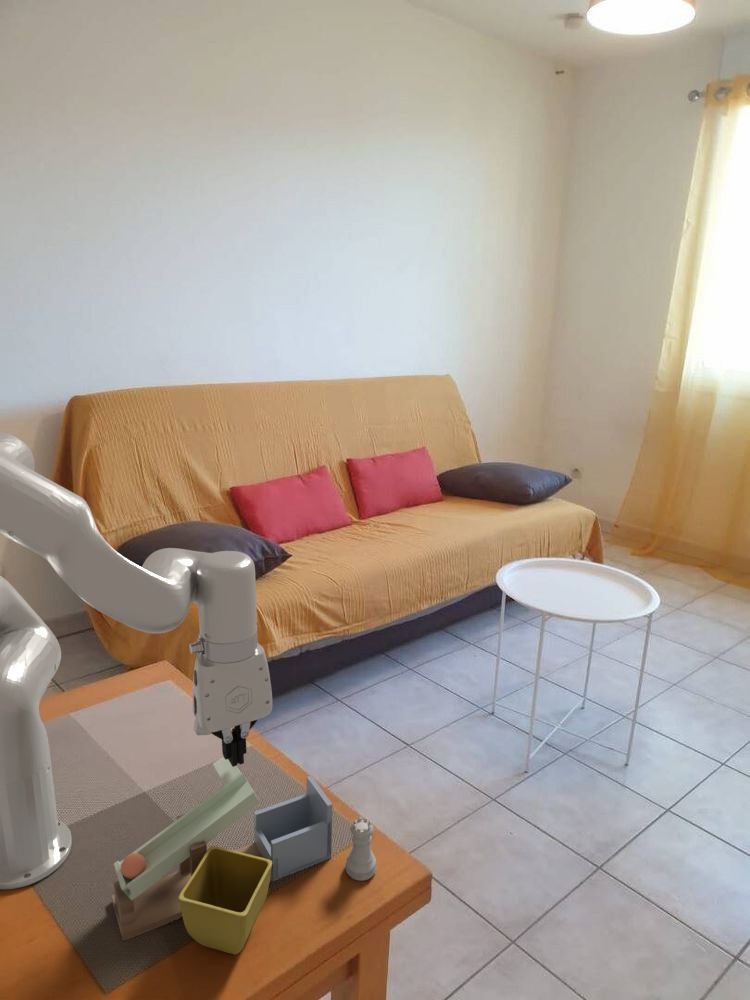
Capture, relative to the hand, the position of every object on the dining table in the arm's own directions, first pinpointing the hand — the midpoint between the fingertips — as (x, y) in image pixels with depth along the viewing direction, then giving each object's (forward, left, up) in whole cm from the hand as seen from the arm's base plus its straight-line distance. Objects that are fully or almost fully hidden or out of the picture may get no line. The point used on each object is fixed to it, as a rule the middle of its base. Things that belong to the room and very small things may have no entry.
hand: (234, 759), depth 101 cm
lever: (+2, -8, -6) cm, 10 cm away
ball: (+5, -15, -7) cm, 18 cm away
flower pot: (+14, -6, -15) cm, 21 cm away
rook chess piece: (+13, +14, -15) cm, 24 cm away
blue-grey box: (+5, +7, -15) cm, 17 cm away
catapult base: (+5, -8, -15) cm, 18 cm away
